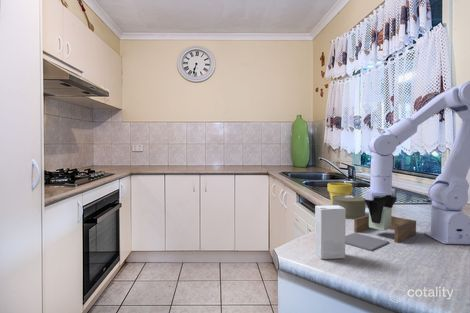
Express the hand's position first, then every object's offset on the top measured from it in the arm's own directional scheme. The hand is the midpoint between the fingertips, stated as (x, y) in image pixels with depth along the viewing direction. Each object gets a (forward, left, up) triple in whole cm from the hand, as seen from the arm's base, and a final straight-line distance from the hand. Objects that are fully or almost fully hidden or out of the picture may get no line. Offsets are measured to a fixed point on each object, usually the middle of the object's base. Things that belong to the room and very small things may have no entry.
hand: (380, 221), depth 87 cm
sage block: (0, 0, -2) cm, 2 cm away
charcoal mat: (-7, +8, -4) cm, 11 cm away
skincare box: (-18, +19, -4) cm, 27 cm away
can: (+24, +1, -4) cm, 24 cm away
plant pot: (+42, 0, -4) cm, 42 cm away
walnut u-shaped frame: (+2, -2, -4) cm, 5 cm away
